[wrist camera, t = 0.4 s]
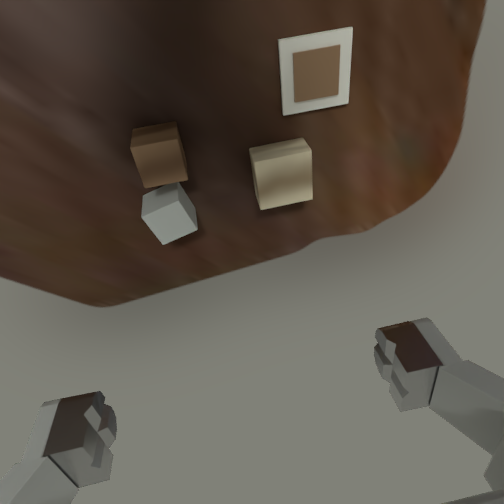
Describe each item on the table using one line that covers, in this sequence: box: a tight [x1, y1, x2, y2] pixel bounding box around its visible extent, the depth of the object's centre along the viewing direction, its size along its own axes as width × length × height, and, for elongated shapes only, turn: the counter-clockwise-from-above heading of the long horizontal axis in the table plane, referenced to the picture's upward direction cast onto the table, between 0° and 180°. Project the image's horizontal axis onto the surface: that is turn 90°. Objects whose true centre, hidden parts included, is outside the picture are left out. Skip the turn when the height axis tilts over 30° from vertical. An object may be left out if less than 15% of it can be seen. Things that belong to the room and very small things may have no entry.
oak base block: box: [249, 137, 313, 210], centre depth 48 cm, size 7×7×4 cm
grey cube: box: [141, 182, 198, 245], centre depth 48 cm, size 5×5×5 cm
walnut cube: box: [130, 121, 188, 188], centre depth 42 cm, size 5×5×5 cm
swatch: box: [278, 27, 353, 116], centre depth 42 cm, size 8×8×1 cm
